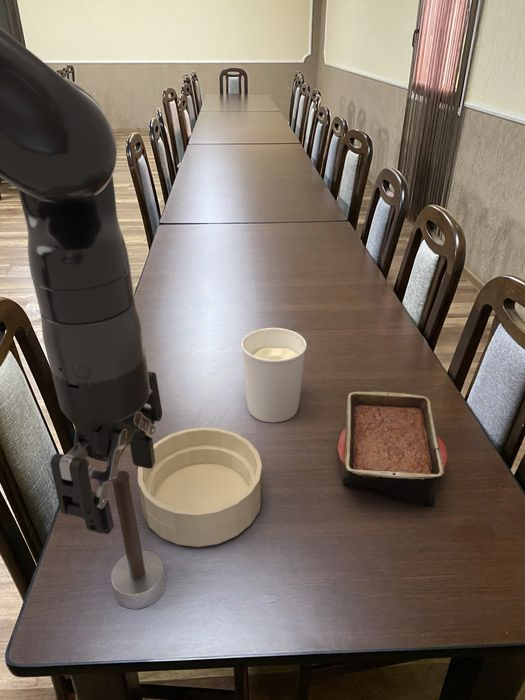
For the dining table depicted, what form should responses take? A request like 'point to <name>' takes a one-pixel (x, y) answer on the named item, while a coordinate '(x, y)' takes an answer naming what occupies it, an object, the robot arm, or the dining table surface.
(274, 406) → the white cup
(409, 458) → the baking dish
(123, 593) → the rod with silver disc
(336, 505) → the dining table surface
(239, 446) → the bowl
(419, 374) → the dining table surface
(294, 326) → the dining table surface
